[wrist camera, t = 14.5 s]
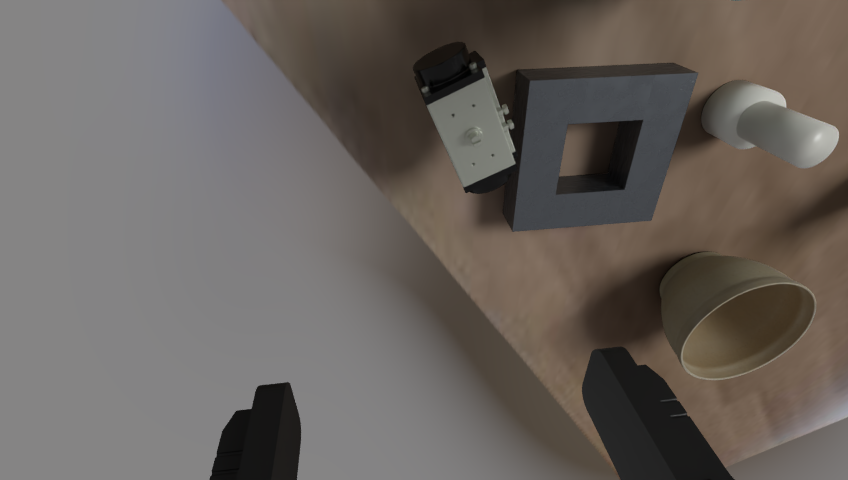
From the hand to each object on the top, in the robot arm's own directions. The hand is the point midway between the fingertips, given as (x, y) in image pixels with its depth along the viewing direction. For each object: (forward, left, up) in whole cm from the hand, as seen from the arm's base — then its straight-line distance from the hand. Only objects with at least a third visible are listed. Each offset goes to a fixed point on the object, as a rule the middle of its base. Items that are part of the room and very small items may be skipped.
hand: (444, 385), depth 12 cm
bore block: (+9, +21, -36) cm, 43 cm away
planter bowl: (+30, +41, -36) cm, 62 cm away
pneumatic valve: (+3, +7, -36) cm, 37 cm away
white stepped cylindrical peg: (+6, +37, -36) cm, 52 cm away
